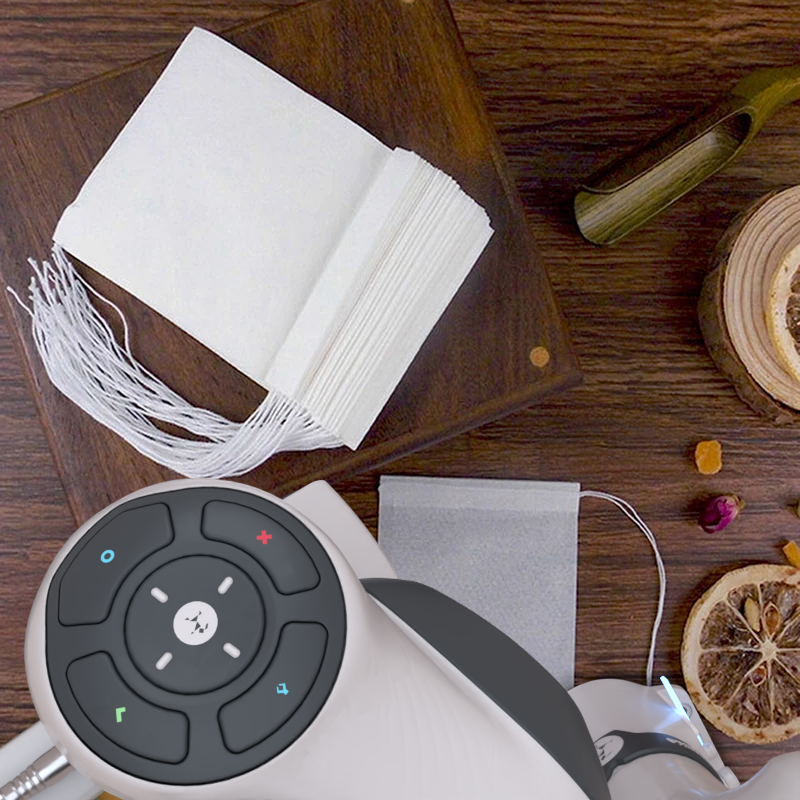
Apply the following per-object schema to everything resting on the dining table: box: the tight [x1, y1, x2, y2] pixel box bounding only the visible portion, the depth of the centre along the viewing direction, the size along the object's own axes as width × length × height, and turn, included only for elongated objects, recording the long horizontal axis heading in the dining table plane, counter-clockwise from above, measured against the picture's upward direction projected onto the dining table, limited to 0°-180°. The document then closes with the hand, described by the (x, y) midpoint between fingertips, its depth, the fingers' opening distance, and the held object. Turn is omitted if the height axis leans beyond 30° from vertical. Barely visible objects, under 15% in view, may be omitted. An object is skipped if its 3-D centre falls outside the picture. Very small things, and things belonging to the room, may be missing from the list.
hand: (186, 684), depth 50 cm, fingers open, 8 cm apart
